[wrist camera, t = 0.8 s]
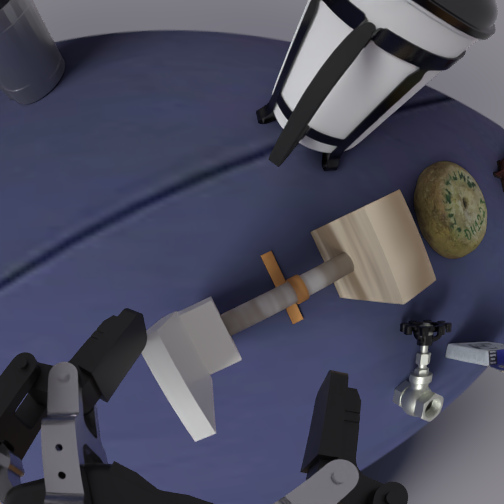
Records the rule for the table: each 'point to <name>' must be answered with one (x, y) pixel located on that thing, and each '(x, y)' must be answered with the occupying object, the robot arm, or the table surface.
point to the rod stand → (349, 264)
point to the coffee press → (364, 66)
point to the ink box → (478, 353)
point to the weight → (450, 209)
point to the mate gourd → (500, 172)
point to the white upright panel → (190, 362)
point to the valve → (421, 372)
